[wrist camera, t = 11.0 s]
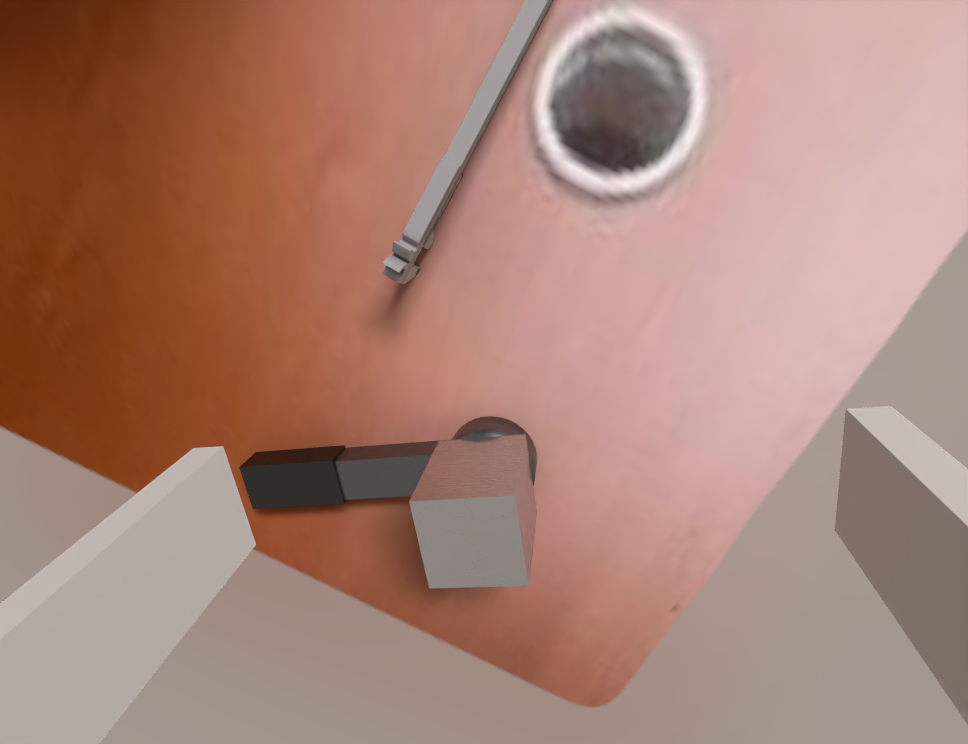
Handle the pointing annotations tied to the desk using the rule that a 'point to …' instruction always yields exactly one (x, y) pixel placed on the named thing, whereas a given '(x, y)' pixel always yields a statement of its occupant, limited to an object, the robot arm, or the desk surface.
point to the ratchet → (354, 469)
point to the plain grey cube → (476, 513)
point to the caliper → (463, 144)
